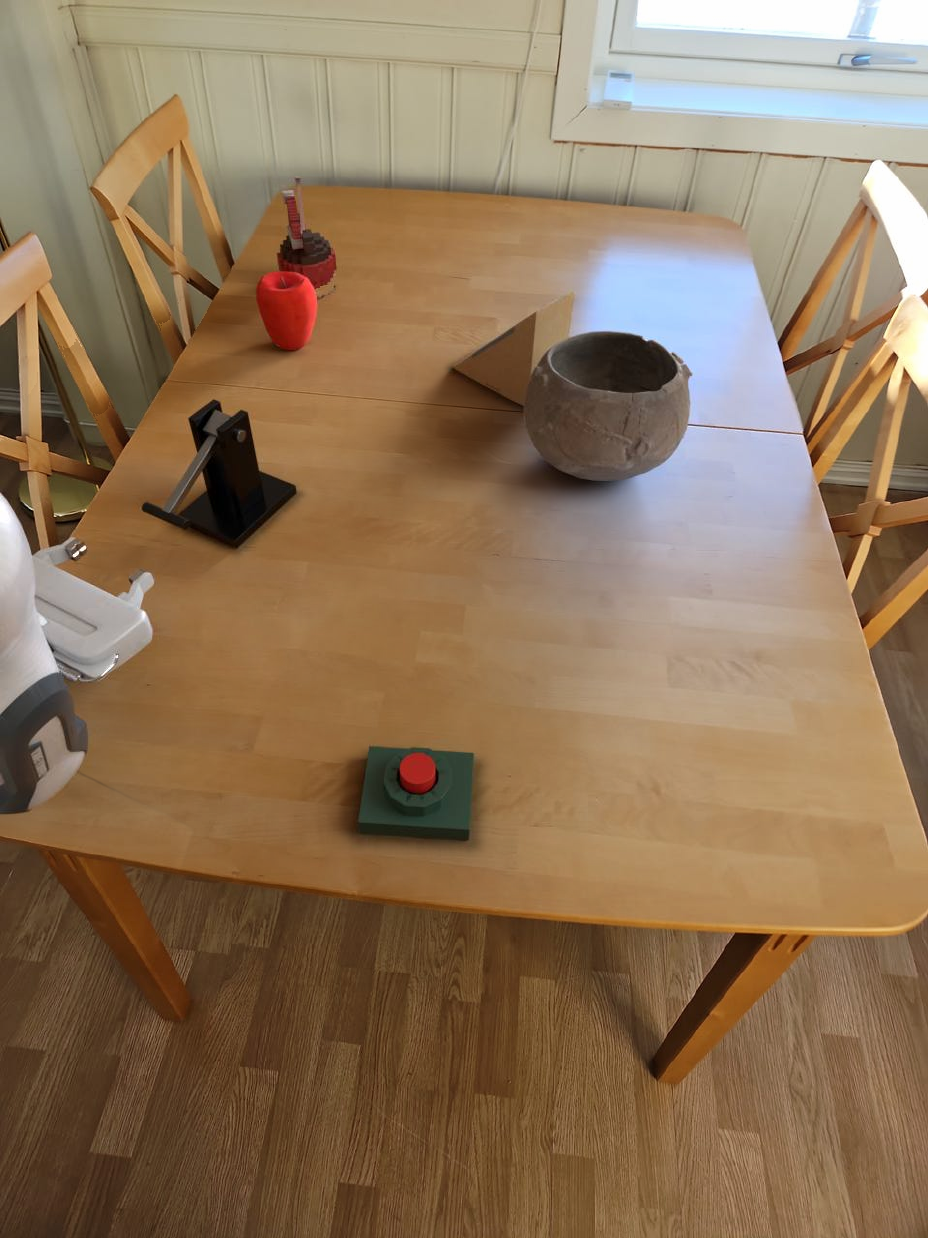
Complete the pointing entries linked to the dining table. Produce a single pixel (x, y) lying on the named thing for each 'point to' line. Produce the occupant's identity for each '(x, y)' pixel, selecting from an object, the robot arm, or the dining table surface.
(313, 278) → the cake
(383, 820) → the button box
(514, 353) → the sandwich container
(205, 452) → the lever
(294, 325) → the apple
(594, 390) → the clay pot
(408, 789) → the button
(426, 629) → the dining table surface
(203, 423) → the bracket
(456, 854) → the dining table surface
